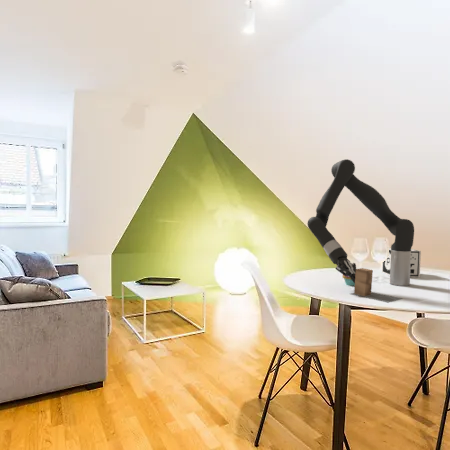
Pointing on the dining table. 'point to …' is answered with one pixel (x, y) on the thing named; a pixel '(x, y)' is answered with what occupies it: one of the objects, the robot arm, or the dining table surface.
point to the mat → (379, 297)
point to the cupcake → (348, 280)
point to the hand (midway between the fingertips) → (357, 282)
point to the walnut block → (363, 282)
